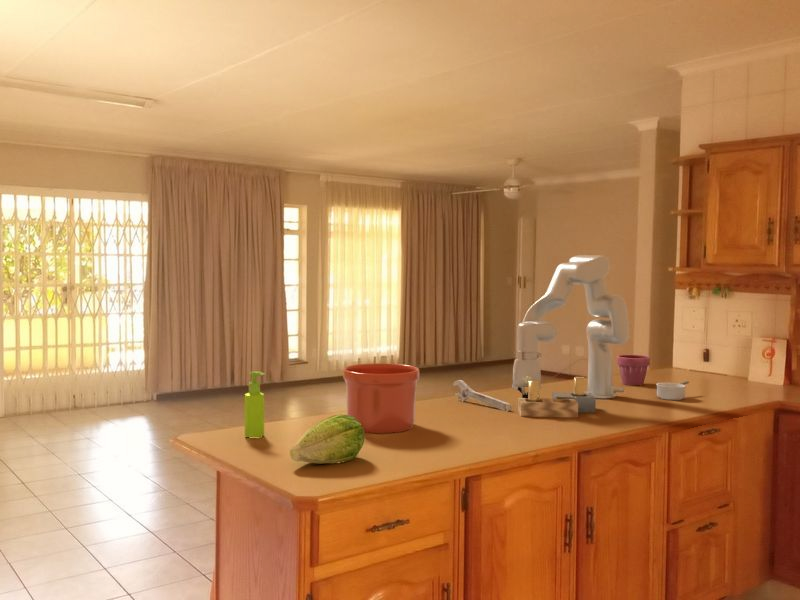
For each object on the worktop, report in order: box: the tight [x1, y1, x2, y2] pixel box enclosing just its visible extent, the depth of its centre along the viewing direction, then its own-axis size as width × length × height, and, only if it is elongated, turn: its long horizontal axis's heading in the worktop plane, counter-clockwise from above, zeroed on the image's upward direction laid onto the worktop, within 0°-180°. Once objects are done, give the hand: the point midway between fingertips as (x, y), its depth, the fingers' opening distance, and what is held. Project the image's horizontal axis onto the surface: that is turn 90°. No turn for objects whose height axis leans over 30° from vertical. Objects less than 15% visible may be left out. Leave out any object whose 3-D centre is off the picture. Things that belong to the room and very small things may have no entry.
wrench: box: [452, 379, 512, 412], centre depth 271 cm, size 8×2×30 cm
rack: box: [517, 397, 579, 418], centre depth 255 cm, size 20×8×5 cm, turn 87°
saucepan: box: [655, 380, 690, 401], centre depth 291 cm, size 12×20×6 cm, turn 132°
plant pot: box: [616, 354, 651, 386], centre depth 322 cm, size 14×14×13 cm
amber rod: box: [527, 380, 541, 402], centre depth 255 cm, size 4×4×12 cm
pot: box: [342, 362, 420, 434], centre depth 233 cm, size 25×25×19 cm
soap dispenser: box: [244, 371, 267, 437], centre depth 217 cm, size 6×7×20 cm
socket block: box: [551, 391, 597, 414], centre depth 264 cm, size 14×10×6 cm
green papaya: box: [289, 414, 365, 465], centre depth 190 cm, size 13×22×14 cm
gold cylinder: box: [573, 376, 586, 396], centre depth 264 cm, size 4×4×12 cm
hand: (526, 404), depth 265 cm, fingers closed
